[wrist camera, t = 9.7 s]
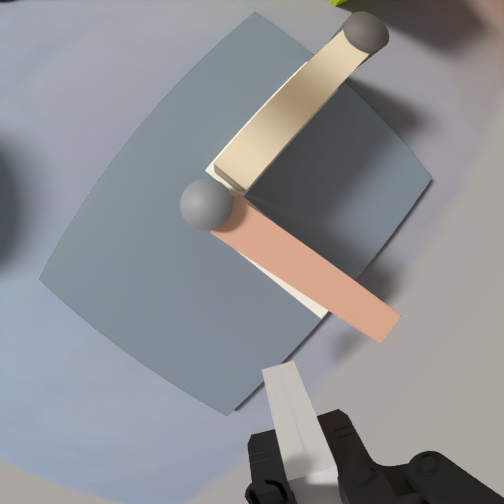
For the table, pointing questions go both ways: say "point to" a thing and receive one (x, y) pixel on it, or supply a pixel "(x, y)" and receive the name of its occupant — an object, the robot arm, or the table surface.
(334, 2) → the puzzle toy
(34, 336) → the table surface
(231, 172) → the rail
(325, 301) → the salmon gate panel
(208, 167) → the card
